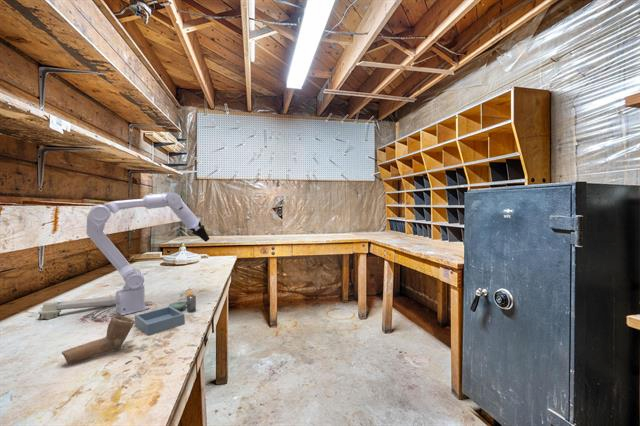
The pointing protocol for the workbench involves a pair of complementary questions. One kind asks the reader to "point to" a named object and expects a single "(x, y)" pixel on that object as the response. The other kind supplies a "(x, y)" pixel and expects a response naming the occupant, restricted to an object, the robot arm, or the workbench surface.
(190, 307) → the pin
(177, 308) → the crank
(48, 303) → the grey long piece
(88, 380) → the workbench surface
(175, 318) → the tray
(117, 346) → the pipe
